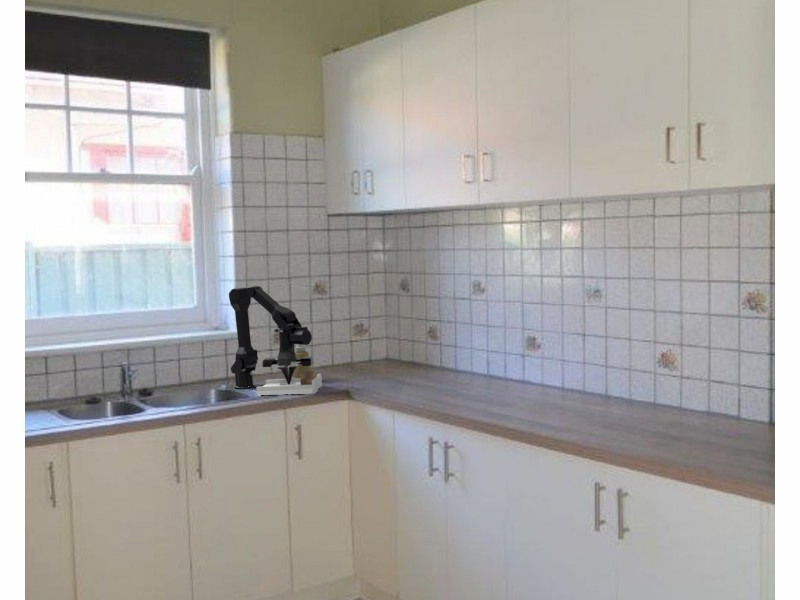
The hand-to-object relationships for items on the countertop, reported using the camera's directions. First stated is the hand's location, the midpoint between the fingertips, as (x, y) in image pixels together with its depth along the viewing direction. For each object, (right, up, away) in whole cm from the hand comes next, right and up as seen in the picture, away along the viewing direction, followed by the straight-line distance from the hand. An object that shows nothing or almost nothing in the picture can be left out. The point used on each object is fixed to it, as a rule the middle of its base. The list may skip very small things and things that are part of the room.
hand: (289, 384), depth 332 cm
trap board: (0, -3, 0) cm, 3 cm away
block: (+8, 0, -1) cm, 8 cm away
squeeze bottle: (+3, -1, +19) cm, 20 cm away
